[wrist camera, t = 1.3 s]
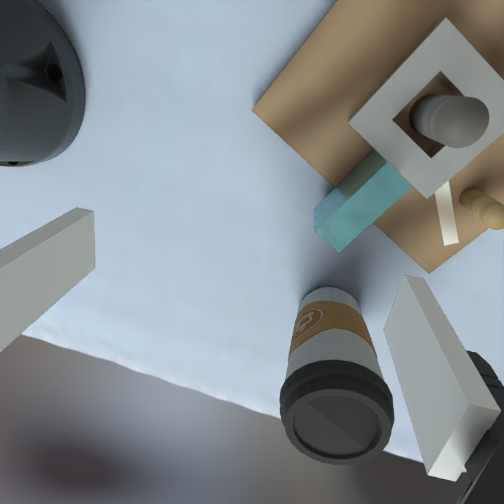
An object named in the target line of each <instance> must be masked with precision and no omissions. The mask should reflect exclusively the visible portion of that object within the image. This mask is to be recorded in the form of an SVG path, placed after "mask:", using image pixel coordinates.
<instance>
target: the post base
mask: <svg viewBox="0 0 504 504" xmlns="http://www.w3.org/2000/svg"><path fill="white" fill-rule="evenodd" d="M444 18H447V19H448V20H449V21H450V22H451V23H452V24H453V25H454V27H455V28H456V29H457V30H458V31H459V32H460V33H461V34H462V35H463V36H464V38H465V39H466V40H467V41H468V42H469V43H470V44H471V45H472V46H473V47H474V48H475V50H476V51H477V52H478V53H479V54H480V55H481V56H482V57H483V58H484V59H485V60H486V62H487V63H488V64H489V65H490V66H491V67H492V68H493V69H494V70H495V71H496V73H497V74H498V75H499V76H500V77H501V78H502V79H503V80H504V0H338V1H337V2H336V3H335V4H334V6H333V7H332V8H331V9H330V11H329V12H328V13H327V15H326V16H325V17H324V18H323V20H322V21H321V22H320V23H319V25H318V26H317V27H316V29H315V30H314V31H313V32H312V34H311V35H310V36H309V37H308V39H307V40H306V41H305V43H304V44H303V45H302V46H301V48H300V49H299V50H298V51H297V53H296V54H295V55H294V57H293V58H292V59H291V60H290V62H289V63H288V64H287V65H286V67H285V68H284V69H283V71H282V72H281V73H280V74H279V76H278V77H277V78H276V79H275V81H274V82H273V83H272V85H271V86H270V87H269V88H268V90H267V91H266V92H265V94H264V95H263V96H262V97H261V99H260V100H259V101H258V102H257V104H256V105H255V106H254V108H253V109H252V110H251V111H253V112H254V113H255V114H256V115H257V116H258V117H259V118H260V119H261V120H262V121H263V122H264V123H266V124H267V125H268V126H269V127H270V128H271V129H272V130H273V131H274V132H275V133H276V134H278V135H279V136H280V137H281V138H282V139H283V140H284V141H285V142H286V143H287V144H288V145H289V146H291V147H292V148H293V149H294V150H295V151H296V152H297V153H298V154H299V155H300V156H301V157H303V158H304V159H305V160H306V161H307V162H308V163H309V164H310V165H311V166H312V167H313V168H314V169H316V170H317V171H318V172H319V173H320V174H321V175H322V176H323V177H324V178H325V179H326V180H328V181H329V182H330V183H331V184H332V185H333V186H334V187H335V188H336V187H337V186H338V185H339V184H340V183H341V182H342V181H343V180H344V179H345V178H346V177H347V176H348V175H349V174H350V173H351V172H352V171H353V170H354V168H355V167H356V166H357V165H358V164H359V163H360V162H361V161H362V160H363V159H364V158H365V157H366V156H367V155H368V154H369V153H370V152H371V151H372V150H373V149H374V148H373V147H372V146H371V145H370V144H369V143H368V142H367V141H366V140H365V139H364V138H363V137H362V136H361V135H360V134H359V133H358V132H357V131H356V130H355V129H354V128H353V127H352V126H351V125H350V124H349V123H348V122H347V120H348V119H349V118H350V117H351V116H352V115H353V114H354V113H355V111H356V110H357V109H358V108H359V107H360V106H361V105H362V104H363V103H364V102H365V101H366V100H367V99H368V97H369V96H370V95H371V94H372V93H373V92H374V91H375V90H376V89H377V88H378V87H379V86H380V84H381V83H382V82H383V81H384V80H385V79H386V78H387V77H388V76H389V75H390V74H391V73H392V71H393V70H394V69H395V68H396V67H397V66H398V65H399V64H400V63H401V62H402V61H403V60H404V59H405V57H406V56H407V55H408V54H409V53H410V52H411V51H412V50H413V49H414V48H415V47H416V46H417V44H418V43H419V42H420V41H421V40H422V39H423V38H424V37H425V36H426V35H427V34H428V33H429V31H430V30H431V29H432V28H433V27H434V26H435V25H436V24H437V23H438V22H439V21H440V20H442V19H444ZM392 120H393V121H394V122H395V123H396V124H397V125H398V126H399V127H400V128H401V129H402V130H403V131H404V132H405V133H406V134H407V135H408V136H409V137H410V138H411V139H412V140H413V141H414V142H415V143H416V144H417V145H418V146H419V147H420V148H421V149H422V150H423V151H424V152H425V153H426V154H428V153H429V152H430V151H431V150H432V149H433V148H434V147H436V146H437V145H438V144H439V143H442V144H444V145H446V146H448V147H451V148H464V147H467V146H470V145H472V144H474V143H475V142H476V141H478V140H479V139H480V138H481V137H482V136H483V134H484V133H485V131H486V129H487V127H488V124H489V111H488V108H487V107H486V105H485V104H484V103H483V102H482V101H481V100H479V99H477V98H474V97H465V96H457V95H456V93H455V92H454V91H453V90H452V89H451V88H450V87H449V86H448V85H447V84H446V83H445V82H444V81H443V80H442V79H441V78H440V77H439V76H438V75H437V74H436V75H435V77H434V78H433V79H432V80H431V81H430V82H429V83H428V84H427V85H426V86H425V87H424V88H423V89H422V90H421V91H420V92H419V93H418V94H417V95H416V96H415V97H414V98H413V99H412V100H411V101H410V102H409V103H408V104H407V105H406V106H405V107H404V108H403V109H402V110H401V111H400V112H399V113H398V114H397V115H396V116H395V117H394V118H393V119H392ZM406 180H407V179H406ZM407 181H408V180H407ZM408 182H409V181H408ZM409 183H410V182H409ZM410 184H411V183H410ZM411 185H412V184H411ZM412 186H413V185H412ZM373 223H374V224H375V225H376V226H378V227H379V228H380V229H381V230H382V231H383V232H384V233H385V234H386V235H387V236H388V237H389V238H391V239H392V240H393V241H394V242H395V243H396V244H397V245H398V246H399V247H400V248H401V249H403V250H404V251H405V252H406V253H407V254H408V255H409V256H410V257H411V258H412V259H413V260H414V261H416V262H417V263H418V264H419V265H420V266H421V267H422V268H423V269H424V270H425V271H426V272H428V273H429V274H430V273H431V272H432V271H434V270H435V269H436V268H437V267H439V266H440V265H441V264H443V263H444V262H445V261H447V260H448V259H449V258H450V257H452V256H453V255H454V254H456V253H457V252H458V251H460V250H461V249H462V248H464V247H465V246H466V245H467V244H469V243H470V242H471V241H473V240H474V239H475V238H477V237H478V236H479V235H480V234H482V233H483V232H484V231H486V230H487V229H488V228H491V229H494V230H499V229H503V228H504V133H503V134H501V135H500V136H499V137H498V138H497V139H496V140H495V141H493V142H492V143H491V144H490V145H489V146H488V147H486V148H485V149H484V150H483V151H482V152H481V153H480V154H478V155H477V156H476V157H475V158H474V159H473V160H471V161H470V162H469V163H468V164H467V165H466V166H465V167H463V168H462V169H461V170H460V171H459V172H458V173H456V174H455V175H454V176H453V177H452V178H451V179H450V180H448V181H447V182H446V183H445V184H444V185H443V186H441V187H440V188H439V189H438V190H437V191H436V192H435V193H433V194H432V195H431V196H430V197H429V198H428V199H426V198H425V197H424V196H423V195H422V194H421V193H420V192H419V191H418V190H417V189H416V188H415V187H414V186H413V187H412V188H410V189H409V190H408V191H407V192H406V193H405V194H404V195H403V196H402V197H400V198H399V199H398V200H397V201H396V202H395V203H394V204H393V205H392V206H390V207H389V208H388V209H387V210H386V211H385V212H384V213H383V214H382V215H380V216H379V217H378V218H377V219H376V220H375V221H374V222H373Z"/></svg>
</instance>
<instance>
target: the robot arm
mask: <svg viewBox="0 0 504 504" xmlns="http://www.w3.org/2000/svg"><path fill="white" fill-rule="evenodd" d="M84 106H85V89H84V82H83V76H82V72H81V68H80V65H79V61H78V59H77V56H76V54H75V51H74V49H73V47H72V45H71V43H70V41H69V39H68V37H67V36H66V34H65V33H64V31H63V30H62V28H61V27H60V25H59V24H58V23H57V21H56V20H55V19H54V18H53V17H52V15H51V14H50V13H49V12H48V11H47V10H46V9H45V8H44V7H43V6H42V5H40V4H39V3H38V2H37V1H35V0H0V166H6V167H23V166H29V165H33V164H37V163H41V162H44V161H47V160H50V159H52V158H54V157H56V156H58V155H59V154H61V153H62V152H63V151H64V150H66V149H67V148H68V146H69V145H70V144H71V143H72V141H73V140H74V138H75V137H76V135H77V133H78V131H79V128H80V126H81V123H82V119H83V114H84ZM94 268H95V233H94V211H92V210H87V209H82V208H77V207H76V208H74V209H73V210H71V211H69V212H67V213H65V214H64V215H62V216H60V217H58V218H56V219H55V220H53V221H51V222H49V223H47V224H46V225H44V226H42V227H40V228H38V229H37V230H35V231H33V232H31V233H29V234H28V235H26V236H24V237H22V238H20V239H18V240H17V241H15V242H13V243H11V244H9V245H8V246H6V247H4V248H2V249H0V352H1V351H2V350H3V349H4V348H5V347H6V346H7V345H9V344H10V343H11V342H12V341H13V340H14V339H16V337H18V336H19V335H20V334H21V333H22V332H23V331H25V330H26V329H27V328H28V327H29V326H30V325H31V324H32V323H34V322H35V321H36V320H37V319H38V318H39V317H40V316H41V315H43V314H44V313H45V312H46V311H47V310H48V309H49V308H50V307H52V306H53V305H54V304H55V303H56V302H57V301H58V300H59V299H61V298H62V297H63V296H64V295H65V294H66V293H67V292H69V291H70V290H71V289H72V288H73V287H74V286H75V285H76V284H78V283H79V282H80V281H81V280H82V279H83V278H84V277H85V276H87V275H88V274H89V273H90V272H91V271H92V270H93V269H94ZM384 333H385V336H386V339H387V343H388V346H389V349H390V352H391V356H392V359H393V362H394V366H395V369H396V372H397V376H398V379H399V382H400V385H401V389H402V392H403V395H404V399H405V402H406V405H407V408H408V412H409V415H410V418H411V422H412V425H413V428H414V432H415V435H416V438H417V441H418V445H419V448H420V451H421V455H422V458H423V461H424V465H425V468H426V471H427V474H428V475H431V476H435V477H439V478H443V479H447V480H452V481H456V480H457V478H458V477H459V476H460V474H461V472H462V471H463V469H464V468H466V471H467V473H468V476H469V478H470V480H471V483H470V484H469V486H468V487H467V489H466V490H465V492H464V493H463V494H462V496H461V498H460V499H459V500H458V502H457V503H456V504H504V386H503V385H502V383H501V381H500V380H498V377H497V375H496V374H495V372H494V370H493V369H492V367H491V366H490V365H489V364H488V363H487V362H486V361H485V360H484V359H483V358H482V357H481V356H480V355H479V354H478V353H476V352H471V351H466V350H465V348H464V346H463V345H462V343H461V341H460V340H459V338H458V336H457V334H456V333H455V331H454V329H453V328H452V326H451V324H450V322H449V321H448V319H447V317H446V316H445V314H444V312H443V310H442V309H441V307H440V305H439V304H438V302H437V300H436V298H435V297H434V295H433V293H432V292H431V290H430V288H429V286H428V285H427V283H426V281H425V280H424V278H419V277H414V276H409V275H404V278H403V281H402V283H401V286H400V288H399V291H398V293H397V296H396V298H395V301H394V303H393V306H392V308H391V311H390V314H389V316H388V319H387V321H386V324H385V326H384Z"/></svg>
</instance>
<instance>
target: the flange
mask: <svg viewBox="0 0 504 504" xmlns="http://www.w3.org/2000/svg"><path fill="white" fill-rule="evenodd" d="M436 74H437V75H438V76H439V77H440V78H441V79H442V80H443V81H444V82H445V83H446V84H447V85H448V86H449V87H450V88H451V89H452V90H453V91H454V92H455V93H456V95H457V96H465V97H474V98H477V99H479V100H481V101H482V102H483V103H484V104H485V105H486V107H487V108H488V111H489V124H488V127H487V129H486V131H485V133H484V134H483V136H482V137H481V138H480V139H479V140H478V141H476V142H475V143H474V144H472V145H470V146H467V147H464V148H451V147H448V146H446V145H444V144H442V143H439V144H438V145H437V146H436V147H434V148H433V149H432V150H431V151H430V152H429V153H428V154H426V153H425V152H424V151H423V150H422V149H421V148H420V147H419V146H418V145H417V144H416V143H415V142H414V141H413V140H412V139H411V138H410V137H409V136H408V135H407V134H406V133H405V132H404V131H403V130H402V129H401V128H400V127H399V126H398V125H397V124H396V123H395V122H394V121H393V120H392V119H393V118H394V117H395V116H396V115H397V114H398V113H399V112H400V111H401V110H402V109H403V108H404V107H405V106H406V105H407V104H408V103H409V102H410V101H411V100H412V99H413V98H414V97H415V96H416V95H417V94H418V93H419V92H420V91H421V90H422V89H423V88H424V87H425V86H426V85H427V84H428V83H429V82H430V81H431V80H432V79H433V78H434V77H435V75H436ZM347 122H348V123H349V124H350V125H351V126H352V127H353V128H354V129H355V130H356V131H357V132H358V133H359V134H360V135H361V136H362V137H363V138H364V139H365V140H366V141H367V142H368V143H369V144H370V145H371V146H372V147H373V148H374V149H373V150H372V151H371V152H370V153H369V154H368V155H367V156H366V157H365V158H364V159H363V160H362V161H361V162H360V163H359V164H358V165H357V166H356V167H355V168H354V170H353V171H352V172H351V173H350V174H349V175H348V176H347V177H346V178H345V179H344V180H343V181H342V182H341V183H340V184H339V185H338V186H337V187H336V188H335V189H334V190H333V191H332V192H331V193H330V194H329V195H328V196H327V197H326V198H325V199H324V200H323V201H322V202H321V203H320V204H319V205H318V206H317V207H316V208H315V232H316V233H317V234H318V235H319V236H321V237H322V238H323V239H324V240H325V241H326V242H327V243H328V244H330V245H331V246H332V247H333V248H334V249H335V250H336V251H338V252H340V251H341V250H343V249H344V248H345V247H346V246H347V245H348V244H349V243H350V242H351V241H353V240H354V239H355V238H356V237H357V236H358V235H359V234H360V233H362V232H363V231H364V230H365V229H366V228H367V227H368V226H369V225H370V224H372V223H373V222H374V221H375V220H376V219H377V218H378V217H379V216H380V215H382V214H383V213H384V212H385V211H386V210H387V209H388V208H389V207H390V206H392V205H393V204H394V203H395V202H396V201H397V200H398V199H399V198H400V197H402V196H403V195H404V194H405V193H406V192H407V191H408V190H409V189H410V188H412V187H413V186H414V187H415V188H416V189H417V190H418V191H419V192H420V193H421V194H422V195H423V196H424V197H425V198H426V199H428V198H429V197H430V196H431V195H432V194H433V193H435V192H436V191H437V190H438V189H439V188H440V187H441V186H443V185H444V184H445V183H446V182H447V181H448V180H450V179H451V178H452V177H453V176H454V175H455V174H456V173H458V172H459V171H460V170H461V169H462V168H463V167H465V166H466V165H467V164H468V163H469V162H470V161H471V160H473V159H474V158H475V157H476V156H477V155H478V154H480V153H481V152H482V151H483V150H484V149H485V148H486V147H488V146H489V145H490V144H491V143H492V142H493V141H495V140H496V139H497V138H498V137H499V136H500V135H501V134H503V133H504V80H503V79H502V78H501V77H500V76H499V75H498V74H497V73H496V71H495V70H494V69H493V68H492V67H491V66H490V65H489V64H488V63H487V62H486V60H485V59H484V58H483V57H482V56H481V55H480V54H479V53H478V52H477V51H476V50H475V48H474V47H473V46H472V45H471V44H470V43H469V42H468V41H467V40H466V39H465V38H464V36H463V35H462V34H461V33H460V32H459V31H458V30H457V29H456V28H455V27H454V25H453V24H452V23H451V22H450V21H449V20H448V19H447V18H444V19H442V20H440V21H439V22H438V23H437V24H436V25H435V26H434V27H433V28H432V29H431V30H430V31H429V33H428V34H427V35H426V36H425V37H424V38H423V39H422V40H421V41H420V42H419V43H418V44H417V46H416V47H415V48H414V49H413V50H412V51H411V52H410V53H409V54H408V55H407V56H406V57H405V59H404V60H403V61H402V62H401V63H400V64H399V65H398V66H397V67H396V68H395V69H394V70H393V71H392V73H391V74H390V75H389V76H388V77H387V78H386V79H385V80H384V81H383V82H382V83H381V84H380V86H379V87H378V88H377V89H376V90H375V91H374V92H373V93H372V94H371V95H370V96H369V97H368V99H367V100H366V101H365V102H364V103H363V104H362V105H361V106H360V107H359V108H358V109H357V110H356V111H355V113H354V114H353V115H352V116H351V117H350V118H349V119H348V120H347ZM406 179H407V180H408V181H409V182H410V183H411V184H412V185H413V186H412V185H411V184H410V183H409V182H408V181H407V180H406Z"/></svg>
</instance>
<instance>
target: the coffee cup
mask: <svg viewBox="0 0 504 504" xmlns="http://www.w3.org/2000/svg"><path fill="white" fill-rule="evenodd" d="M279 401H280V415H281V419H282V423H283V425H284V427H285V430H286V434H287V436H288V438H289V439H290V441H291V443H292V444H293V445H294V446H295V447H296V448H297V449H298V450H299V451H300V452H302V453H303V454H305V455H306V456H308V457H310V458H312V459H315V460H317V461H320V462H323V463H328V464H334V465H350V464H356V463H360V462H364V461H366V460H369V459H371V458H373V457H374V456H376V455H377V454H379V453H380V452H381V451H382V450H383V449H384V448H385V446H386V445H387V444H388V442H389V439H390V436H391V430H392V427H393V423H394V408H393V397H392V394H391V392H390V390H389V387H388V385H387V384H386V383H385V382H384V379H383V376H382V373H381V370H380V367H379V364H378V361H377V355H376V352H375V349H374V346H373V343H372V340H371V337H370V335H369V332H368V329H367V326H366V324H365V321H364V319H363V317H362V314H361V311H360V308H359V305H358V303H357V301H356V300H355V299H354V298H353V297H352V296H351V295H350V294H348V293H347V292H346V291H343V290H341V289H338V288H334V287H323V288H319V289H316V290H314V291H312V292H311V293H309V294H308V295H306V296H305V298H304V299H303V300H302V301H301V303H300V305H299V308H298V314H297V318H296V321H295V325H294V330H293V336H292V341H291V346H290V351H289V357H288V368H287V373H286V379H285V382H284V384H283V386H282V388H281V392H280V400H279Z"/></svg>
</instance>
